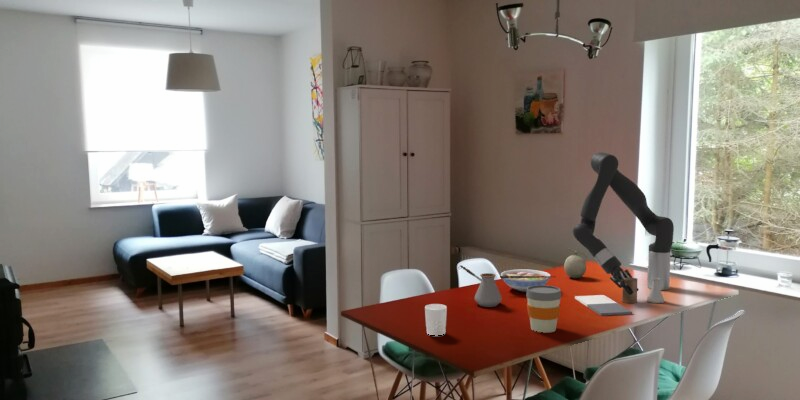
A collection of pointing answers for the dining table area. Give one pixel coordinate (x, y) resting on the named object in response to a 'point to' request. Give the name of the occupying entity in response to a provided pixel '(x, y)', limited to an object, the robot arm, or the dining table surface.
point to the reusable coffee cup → (543, 307)
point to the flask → (655, 292)
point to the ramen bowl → (524, 278)
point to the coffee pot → (486, 290)
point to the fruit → (575, 265)
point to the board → (603, 305)
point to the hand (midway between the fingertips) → (634, 292)
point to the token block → (633, 285)
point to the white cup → (435, 319)
